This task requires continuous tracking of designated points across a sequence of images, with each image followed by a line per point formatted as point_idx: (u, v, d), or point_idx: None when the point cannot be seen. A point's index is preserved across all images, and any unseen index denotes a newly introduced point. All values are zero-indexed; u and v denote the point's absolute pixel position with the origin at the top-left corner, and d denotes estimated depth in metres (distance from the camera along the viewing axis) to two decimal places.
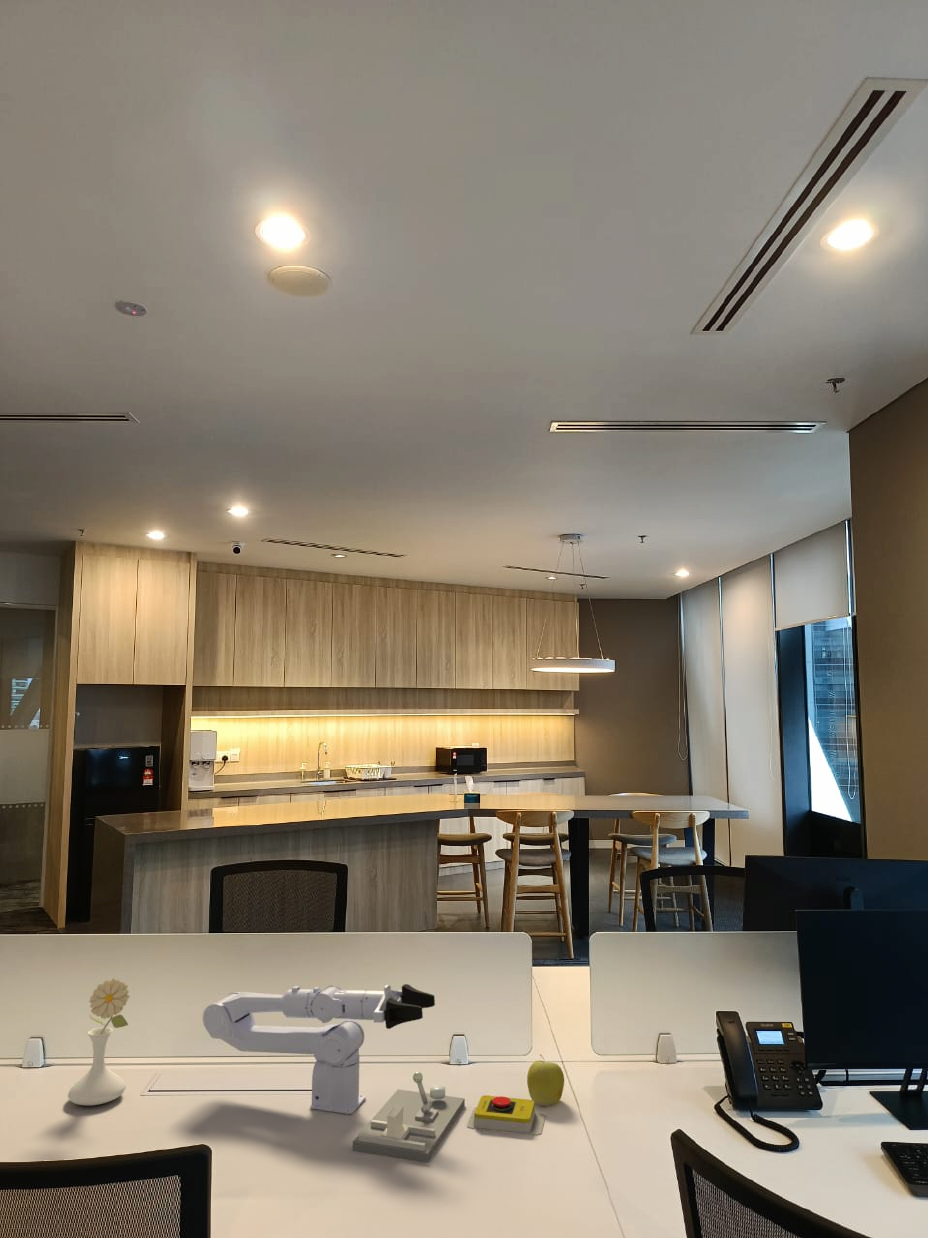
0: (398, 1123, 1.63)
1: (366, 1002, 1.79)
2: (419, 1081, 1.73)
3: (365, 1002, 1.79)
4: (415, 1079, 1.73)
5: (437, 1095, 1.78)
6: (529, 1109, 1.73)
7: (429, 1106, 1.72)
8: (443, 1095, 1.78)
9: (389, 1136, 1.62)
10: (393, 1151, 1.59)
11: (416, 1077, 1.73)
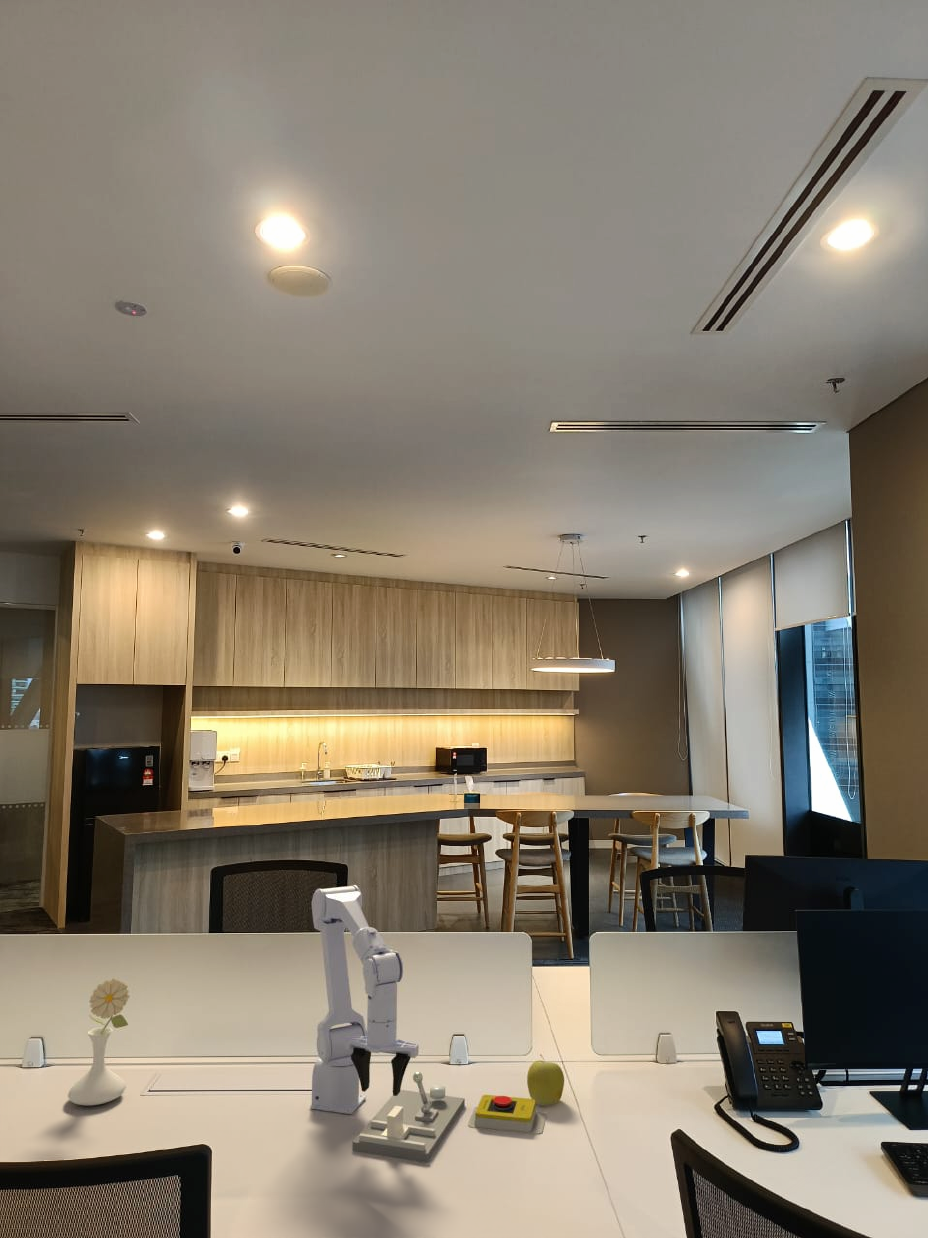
0: (398, 1123, 1.63)
1: (367, 1024, 1.66)
2: (419, 1081, 1.73)
3: (367, 1022, 1.66)
4: (415, 1079, 1.73)
5: (437, 1095, 1.78)
6: (530, 1108, 1.73)
7: (429, 1106, 1.72)
8: (443, 1095, 1.78)
9: (389, 1136, 1.62)
10: (393, 1151, 1.59)
11: (416, 1077, 1.73)
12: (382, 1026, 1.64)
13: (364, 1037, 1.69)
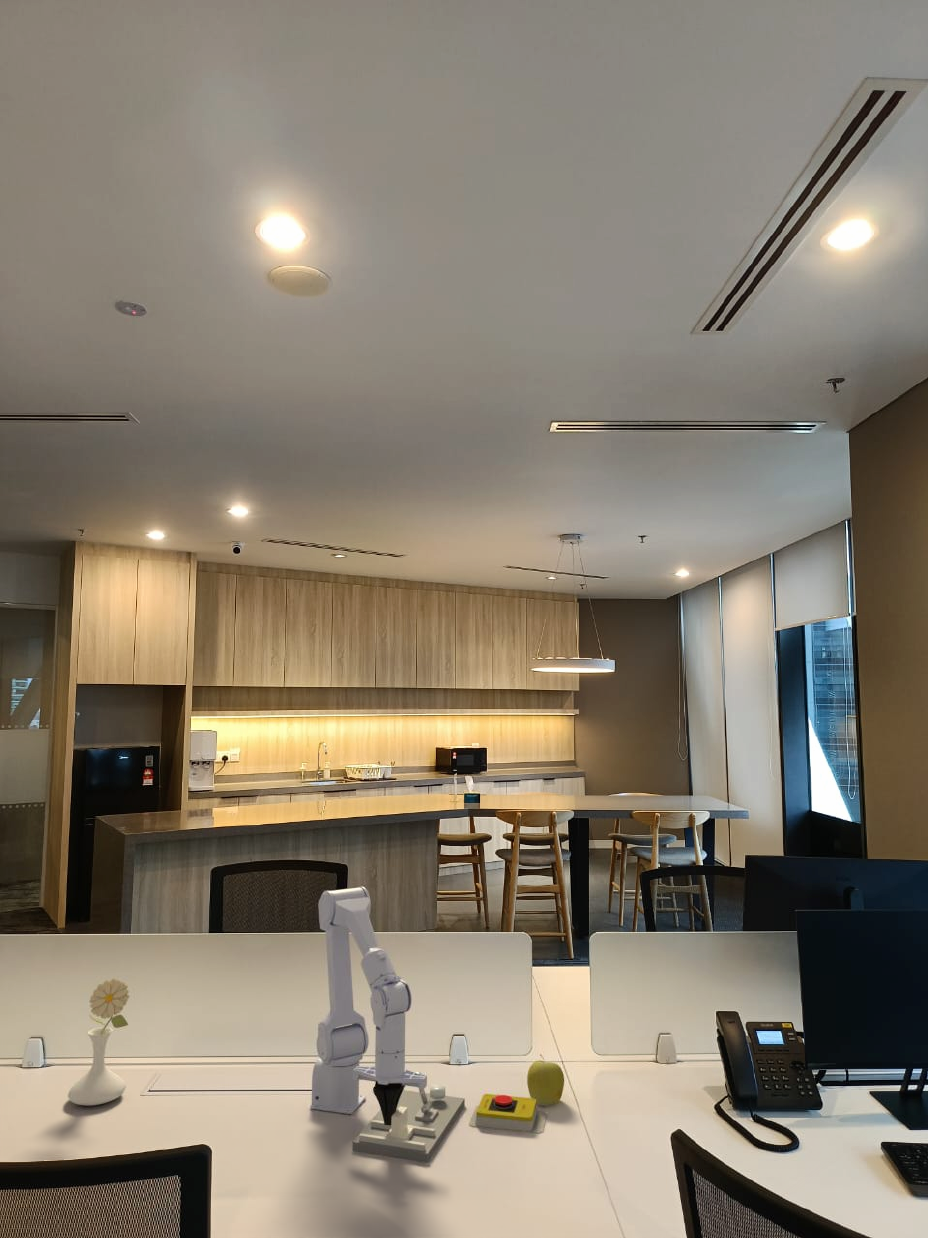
0: (402, 1124, 1.63)
1: (375, 1054, 1.65)
2: None
3: (375, 1053, 1.65)
4: None
5: (437, 1095, 1.78)
6: (531, 1108, 1.74)
7: (429, 1106, 1.72)
8: (443, 1095, 1.78)
9: (393, 1137, 1.61)
10: (393, 1151, 1.59)
11: None
12: (390, 1057, 1.63)
13: (372, 1067, 1.68)
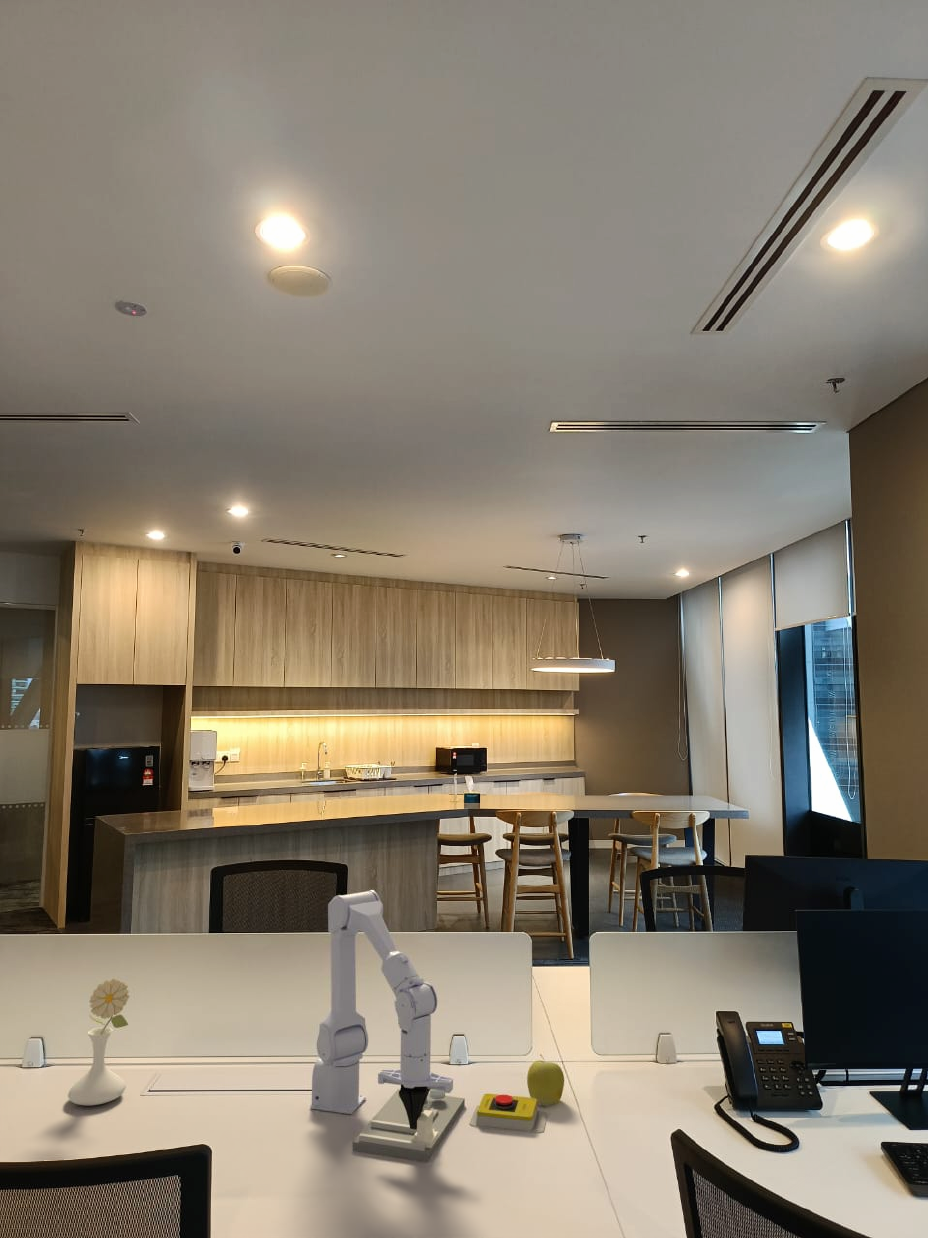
0: (428, 1128, 1.62)
1: None
2: None
3: None
4: None
5: (437, 1095, 1.78)
6: (532, 1107, 1.74)
7: (429, 1106, 1.72)
8: (443, 1095, 1.78)
9: (419, 1141, 1.60)
10: (393, 1151, 1.59)
11: None
12: (416, 1060, 1.61)
13: (397, 1071, 1.66)
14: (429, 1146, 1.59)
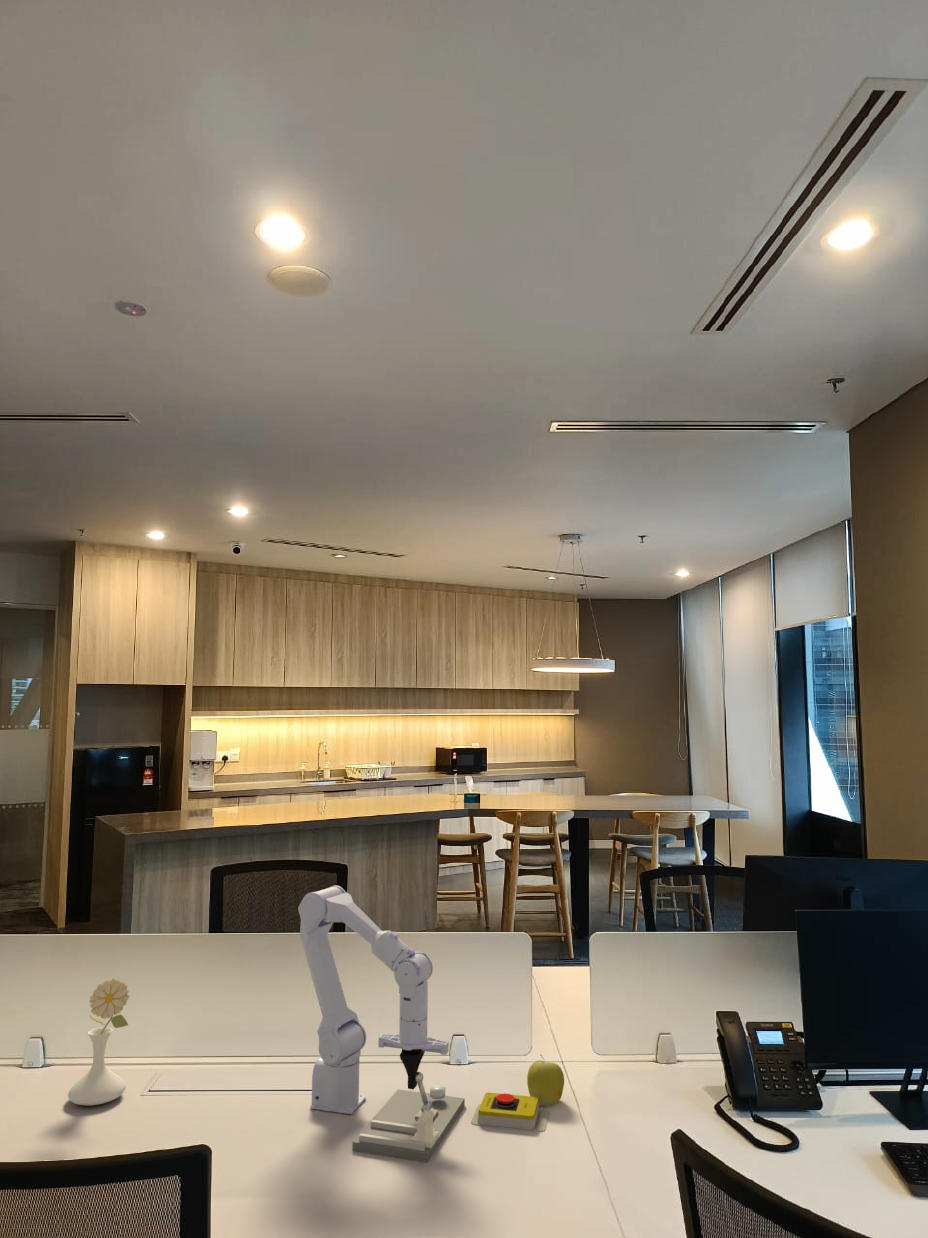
0: (428, 1128, 1.62)
1: (399, 1022, 1.74)
2: (420, 1081, 1.73)
3: (399, 1021, 1.75)
4: (416, 1079, 1.73)
5: (437, 1095, 1.78)
6: (533, 1106, 1.74)
7: (429, 1106, 1.72)
8: (443, 1095, 1.78)
9: (419, 1141, 1.60)
10: (393, 1151, 1.59)
11: (417, 1077, 1.73)
12: (414, 1025, 1.72)
13: (396, 1035, 1.77)
14: (429, 1146, 1.59)
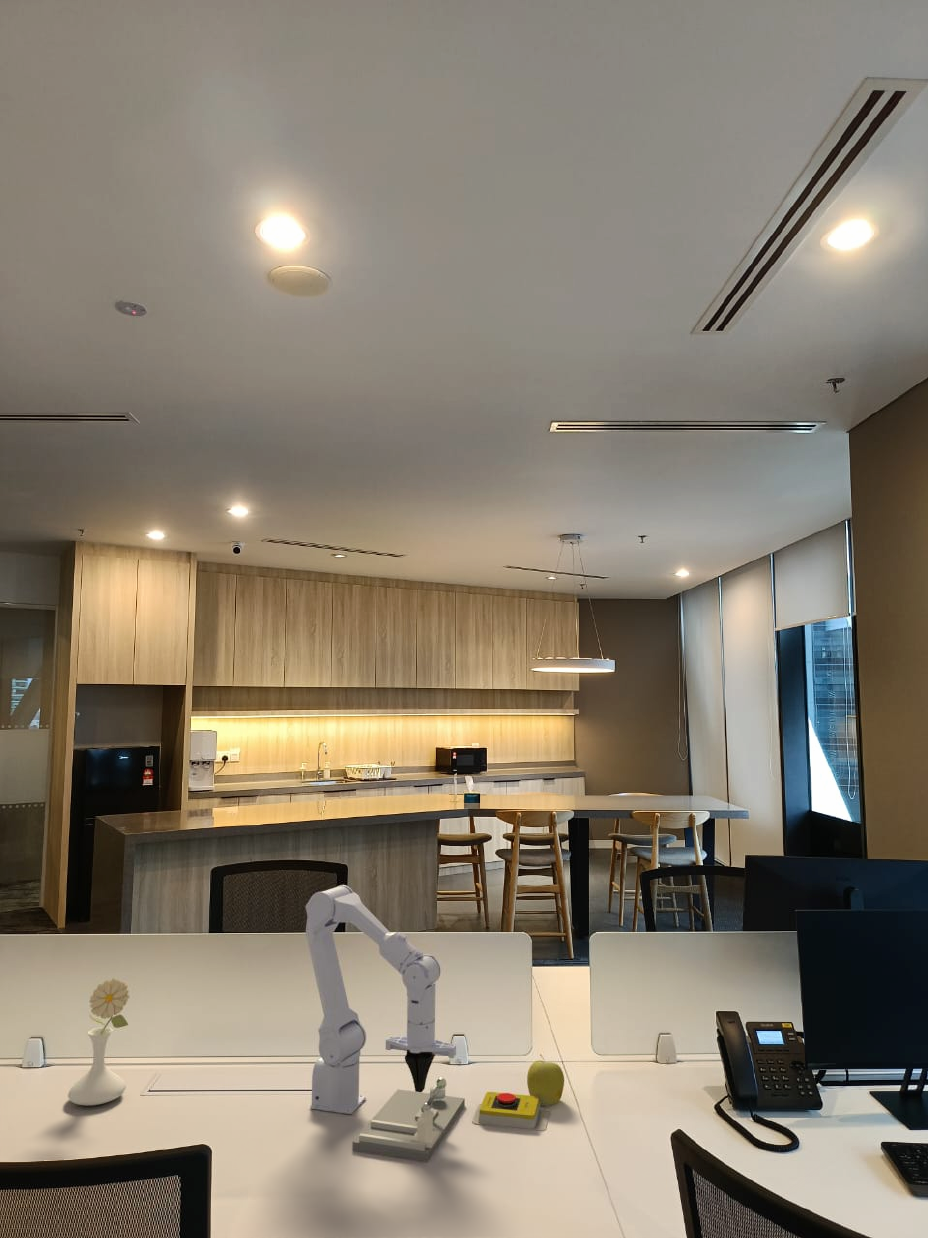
0: (428, 1128, 1.62)
1: (407, 1025, 1.74)
2: (440, 1088, 1.71)
3: (407, 1024, 1.74)
4: (439, 1084, 1.71)
5: (437, 1095, 1.78)
6: (534, 1106, 1.75)
7: (429, 1110, 1.72)
8: (443, 1095, 1.78)
9: (419, 1141, 1.60)
10: (393, 1151, 1.59)
11: (441, 1084, 1.71)
12: (422, 1027, 1.72)
13: (403, 1038, 1.77)
14: (429, 1146, 1.59)
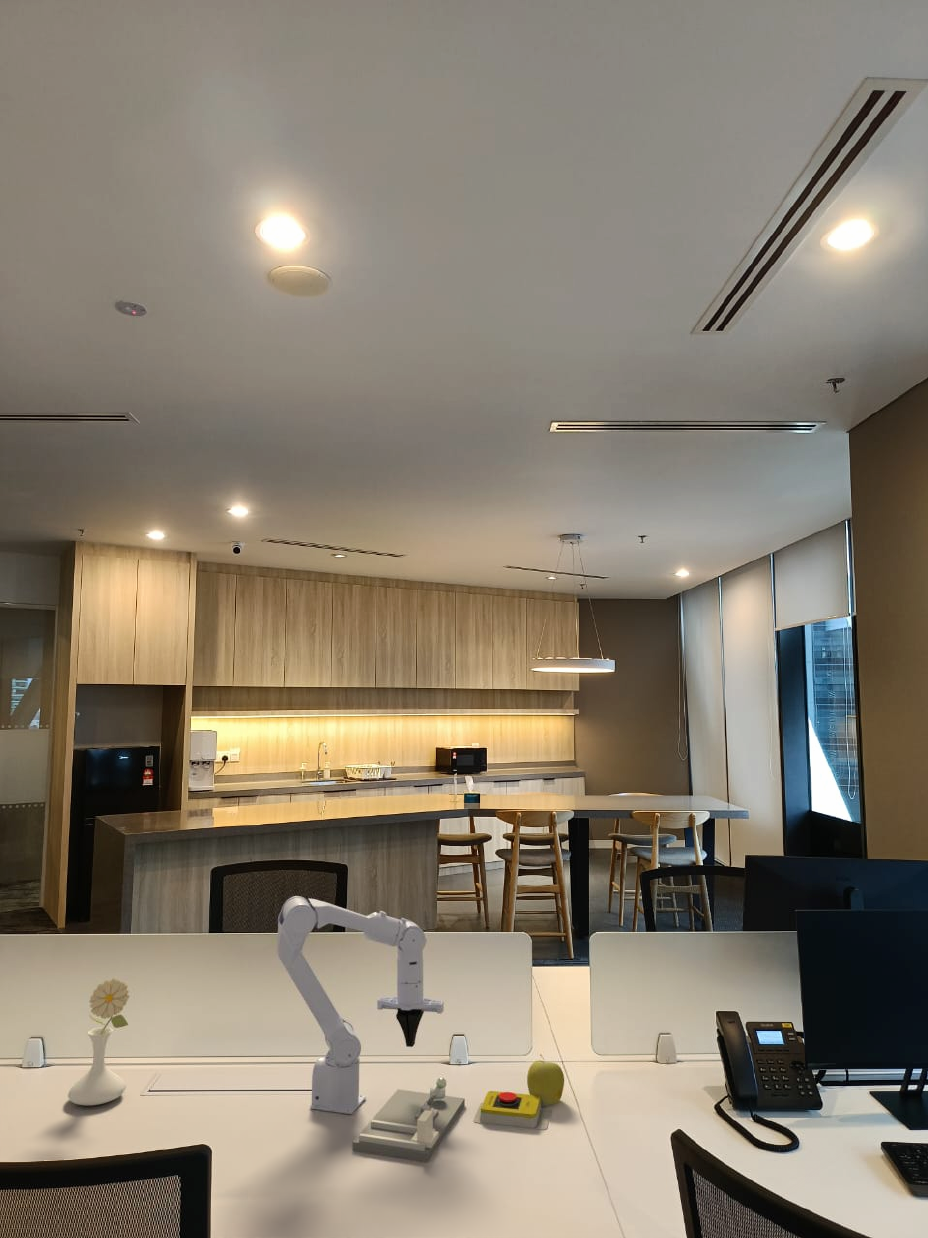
0: (428, 1128, 1.62)
1: (397, 985, 1.87)
2: (440, 1088, 1.71)
3: (397, 984, 1.87)
4: (439, 1084, 1.71)
5: (437, 1095, 1.78)
6: (535, 1105, 1.75)
7: (429, 1110, 1.72)
8: (443, 1095, 1.78)
9: (419, 1141, 1.60)
10: (393, 1151, 1.59)
11: (441, 1084, 1.71)
12: (411, 987, 1.85)
13: (393, 998, 1.89)
14: (429, 1146, 1.59)
